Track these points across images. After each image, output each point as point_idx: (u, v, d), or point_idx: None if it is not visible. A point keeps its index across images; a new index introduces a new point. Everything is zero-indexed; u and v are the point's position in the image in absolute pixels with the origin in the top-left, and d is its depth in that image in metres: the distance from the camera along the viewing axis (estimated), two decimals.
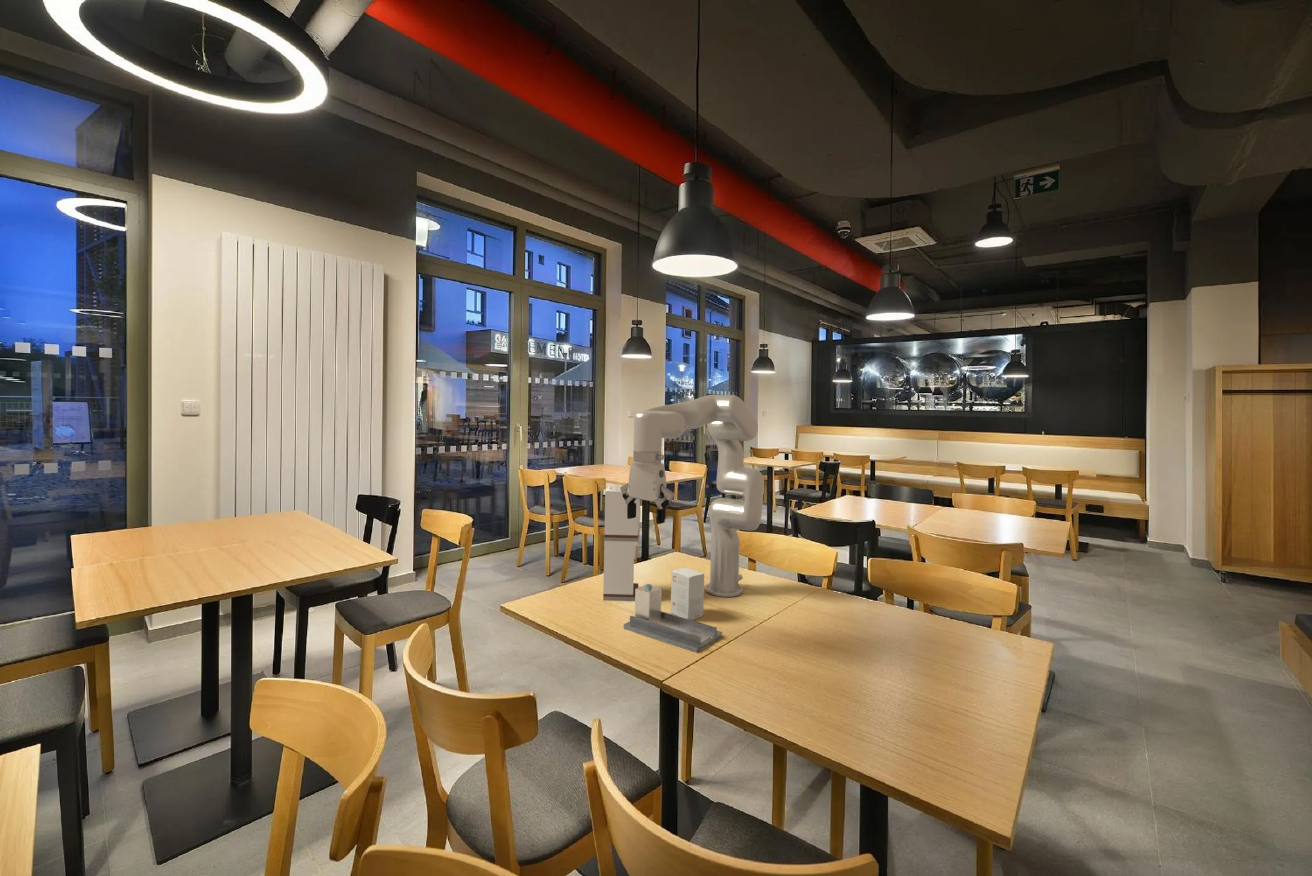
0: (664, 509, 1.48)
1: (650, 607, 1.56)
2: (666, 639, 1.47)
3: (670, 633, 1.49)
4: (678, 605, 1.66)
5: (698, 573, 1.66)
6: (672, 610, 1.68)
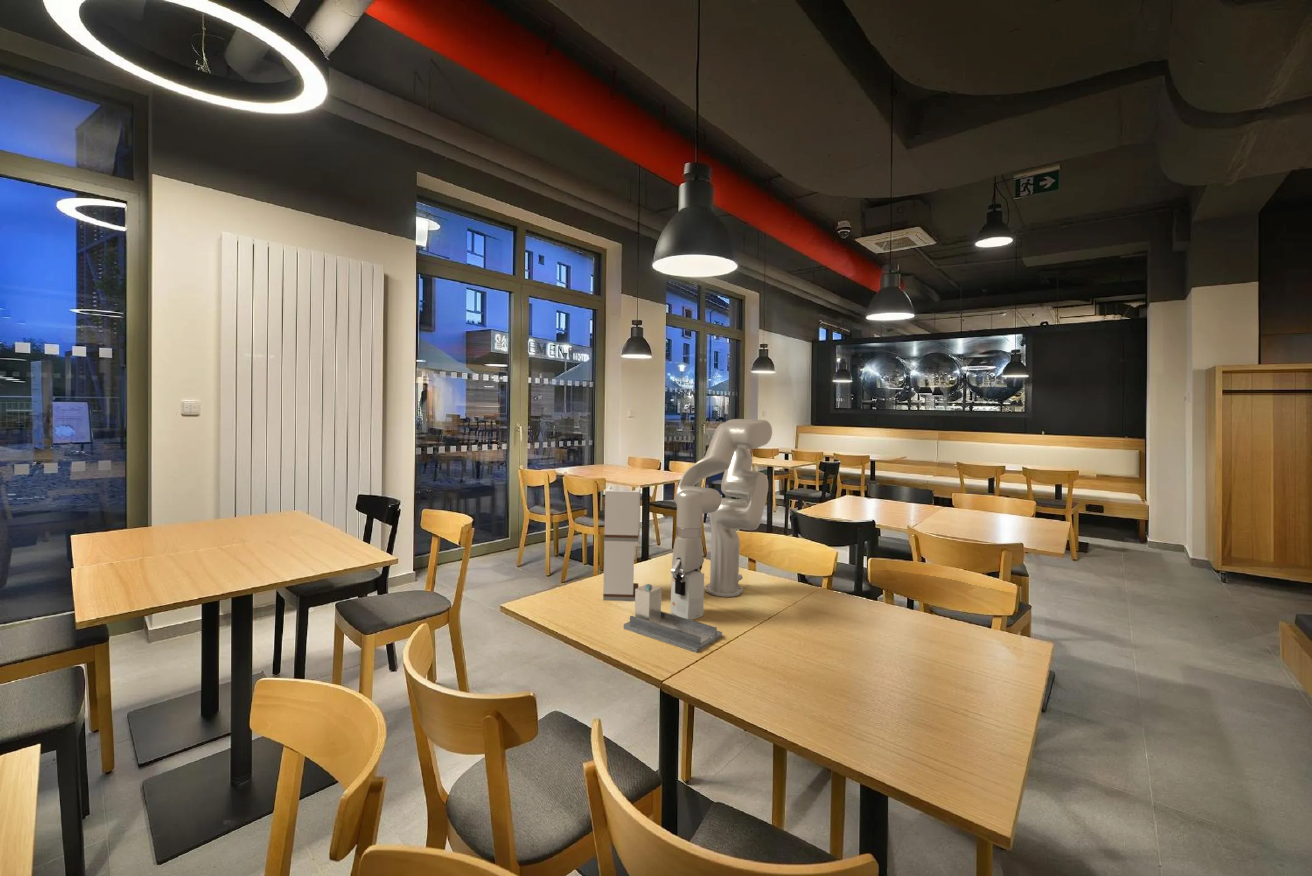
0: None
1: (650, 607, 1.56)
2: (666, 639, 1.47)
3: (670, 633, 1.49)
4: (678, 605, 1.66)
5: (698, 573, 1.66)
6: (672, 610, 1.68)
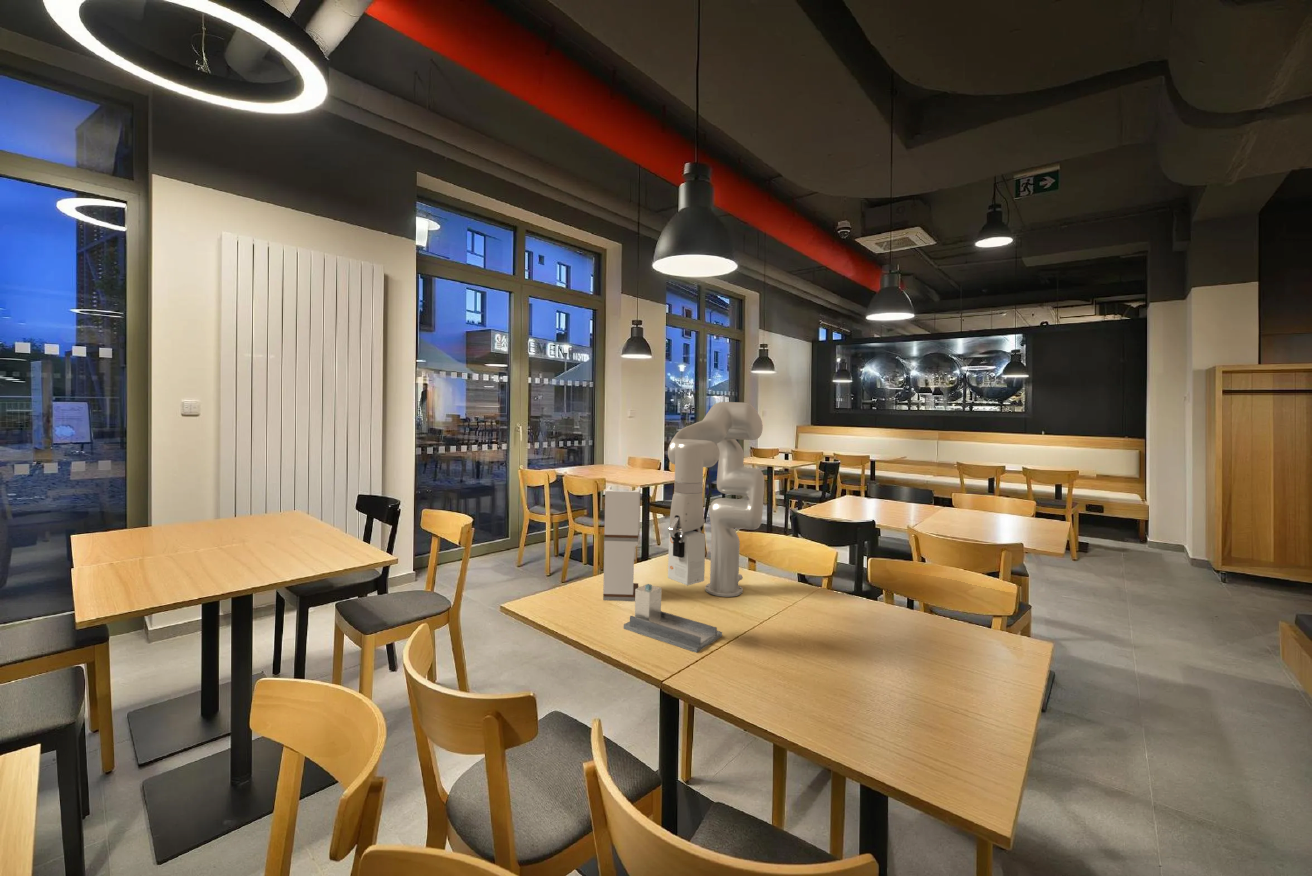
0: None
1: (650, 607, 1.56)
2: (666, 639, 1.47)
3: (670, 633, 1.49)
4: (676, 569, 1.49)
5: (698, 533, 1.49)
6: (670, 575, 1.51)
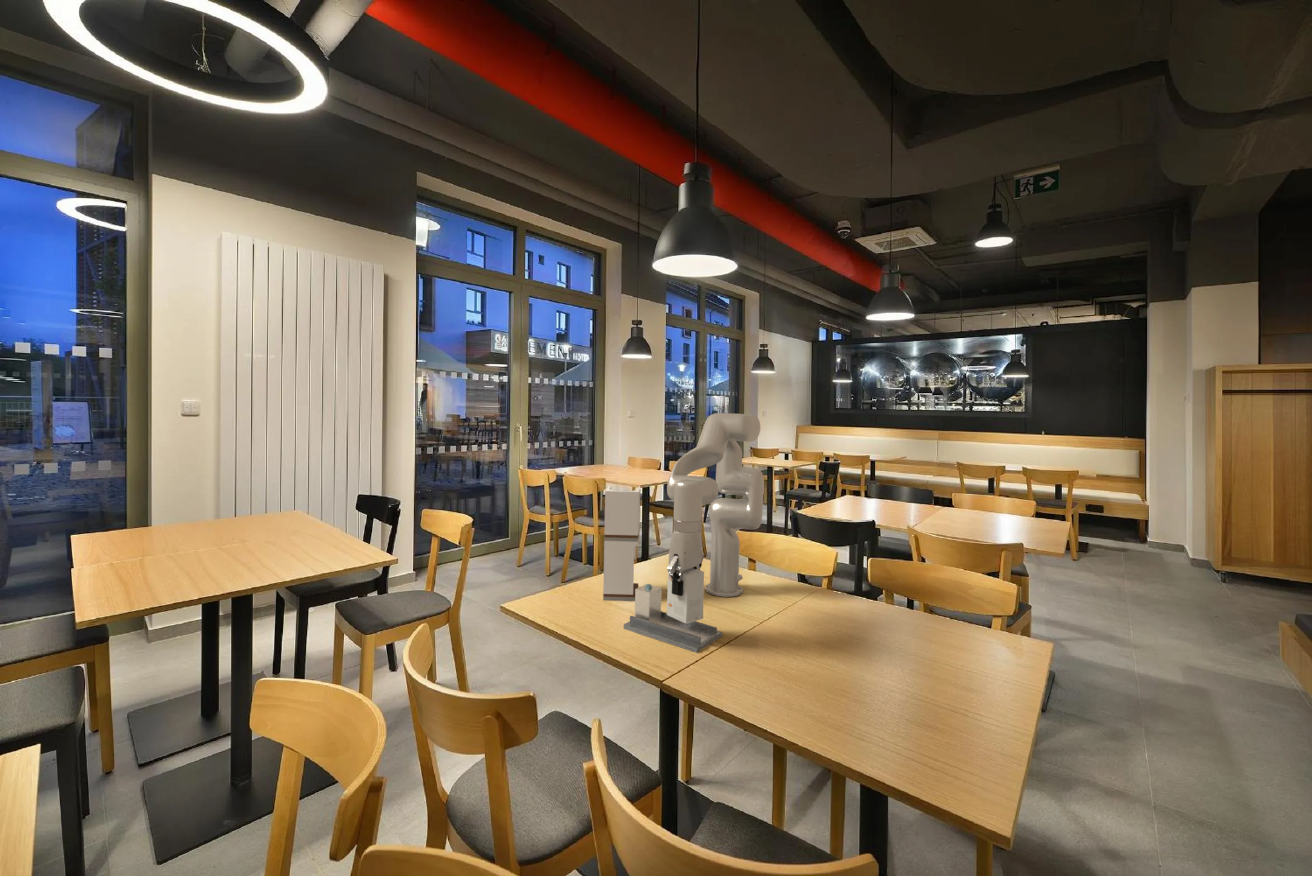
0: None
1: (650, 607, 1.56)
2: (666, 639, 1.47)
3: (670, 633, 1.49)
4: (675, 606, 1.50)
5: (697, 571, 1.50)
6: (668, 612, 1.52)
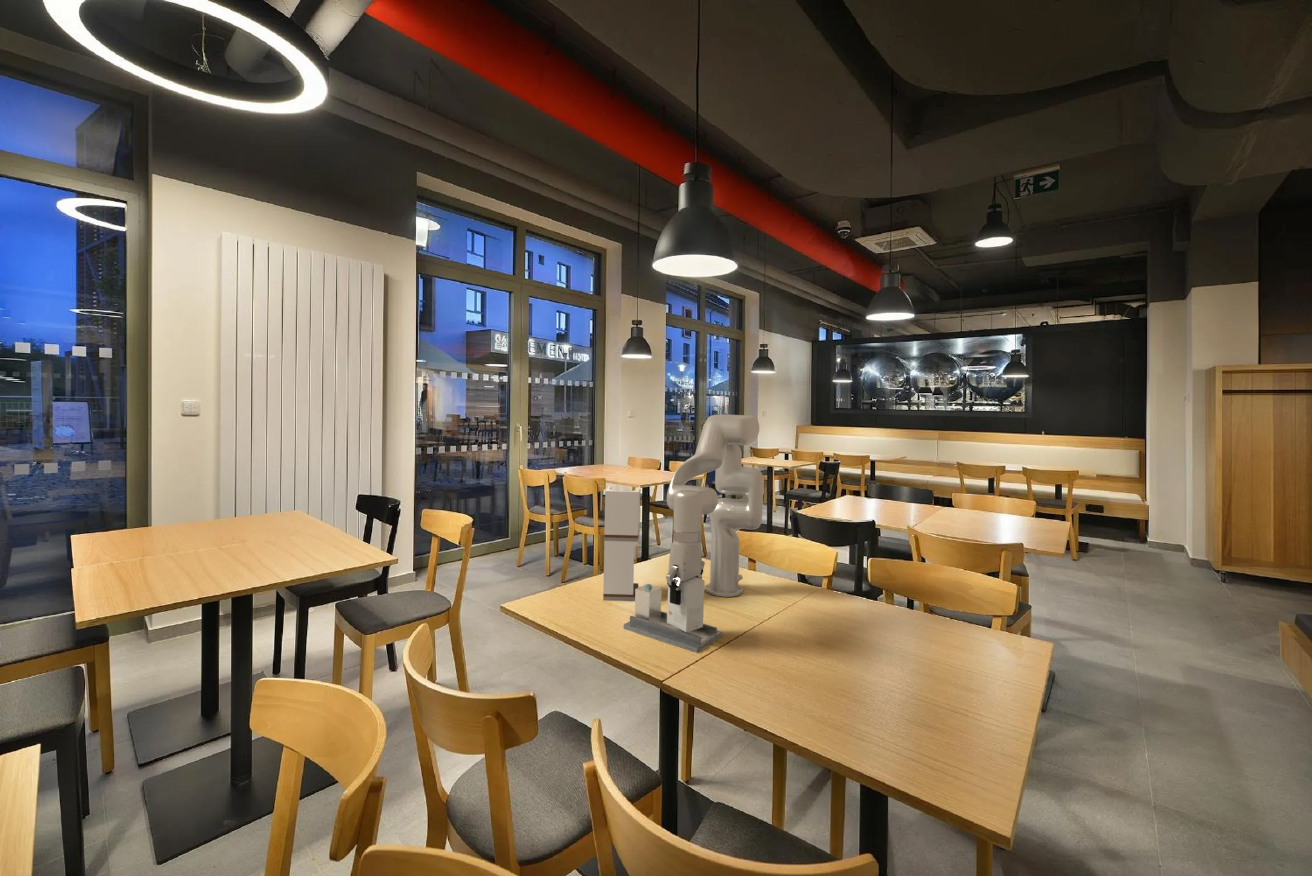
0: None
1: (650, 607, 1.56)
2: (666, 639, 1.47)
3: (670, 633, 1.49)
4: (675, 615, 1.50)
5: (698, 579, 1.50)
6: (668, 620, 1.52)
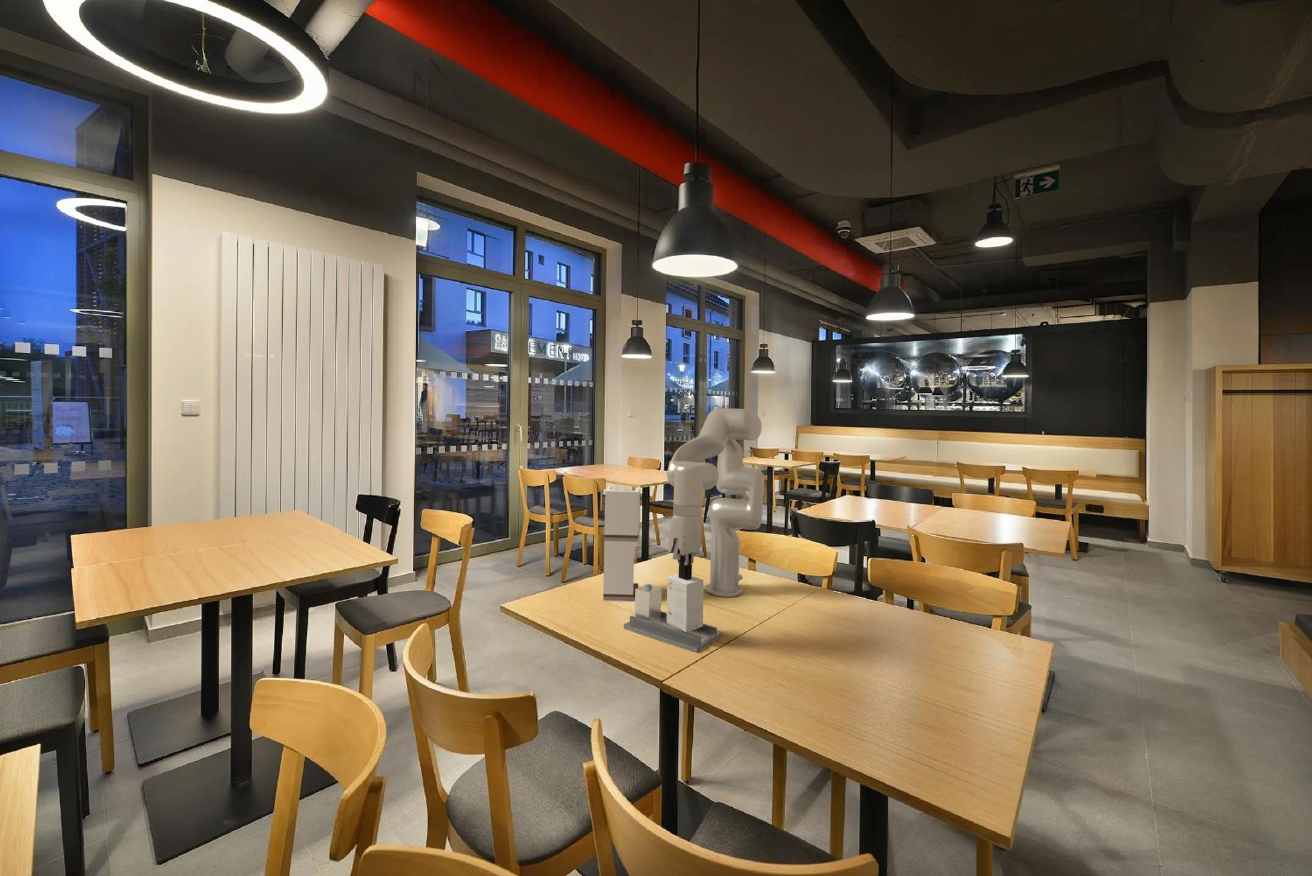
0: None
1: (650, 607, 1.56)
2: (666, 639, 1.47)
3: (670, 633, 1.49)
4: (675, 615, 1.50)
5: (696, 579, 1.50)
6: (668, 620, 1.52)
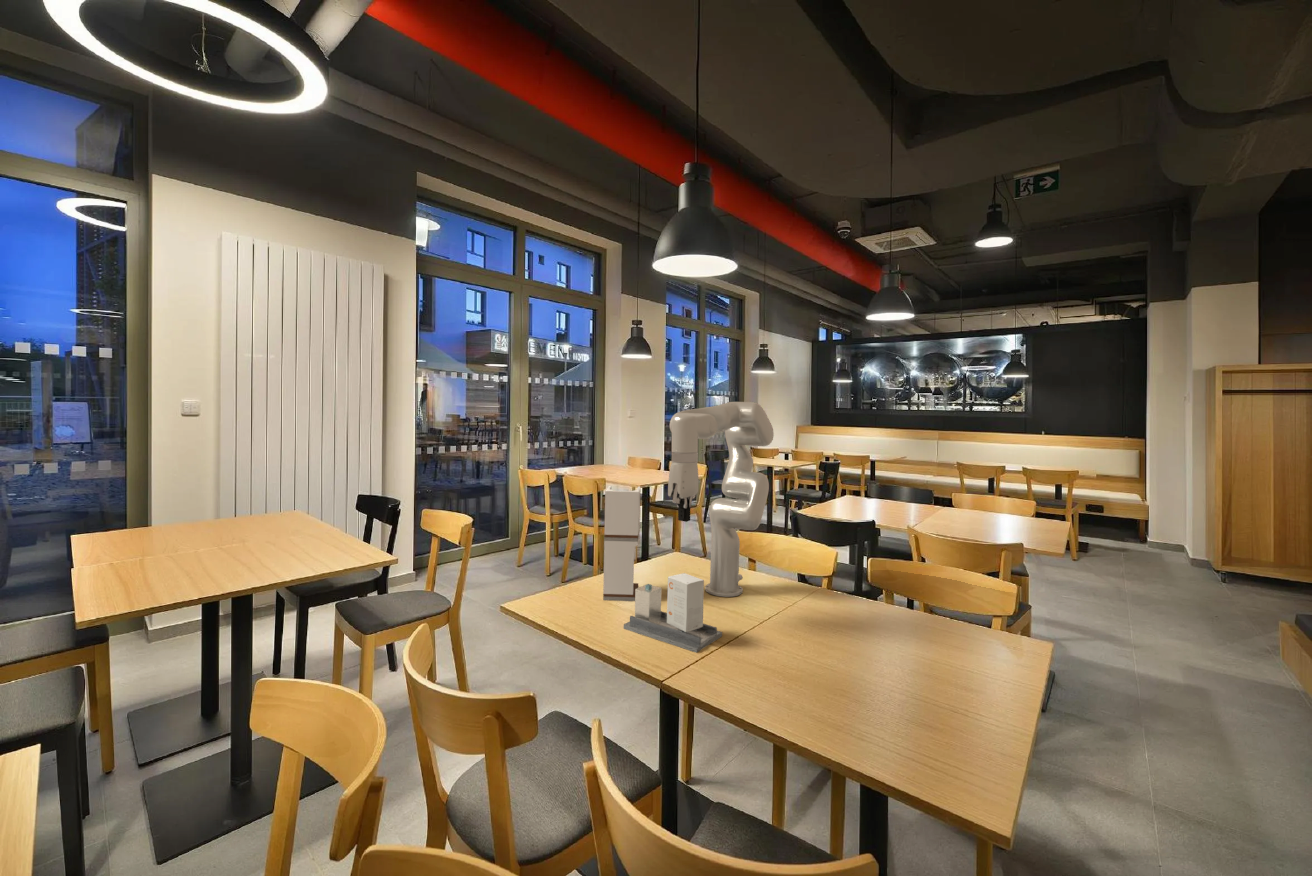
0: None
1: (650, 607, 1.56)
2: (666, 639, 1.47)
3: (670, 633, 1.49)
4: (675, 615, 1.50)
5: (697, 579, 1.50)
6: (668, 620, 1.52)
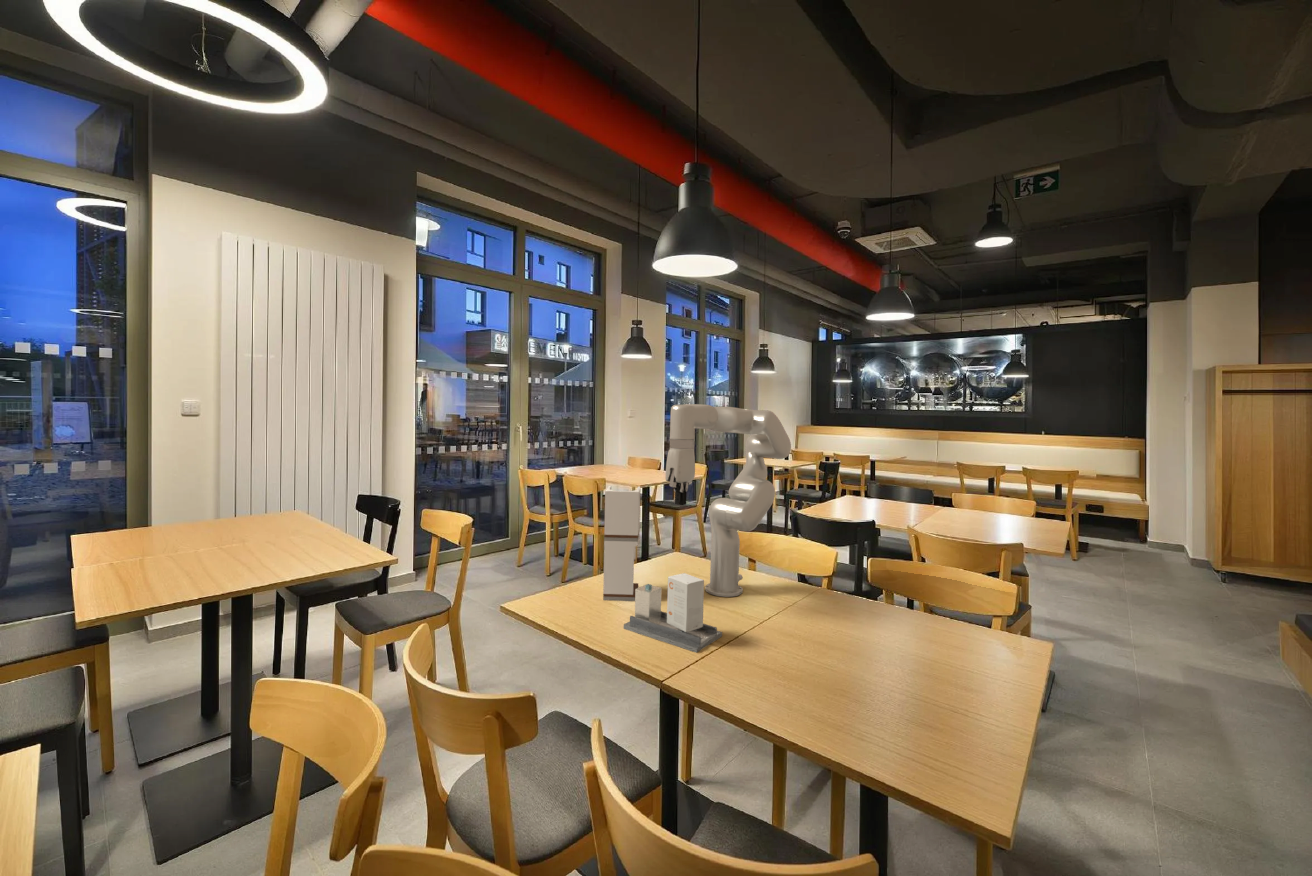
0: None
1: (650, 607, 1.56)
2: (666, 639, 1.47)
3: (670, 633, 1.49)
4: (675, 615, 1.50)
5: (697, 579, 1.50)
6: (668, 620, 1.52)
